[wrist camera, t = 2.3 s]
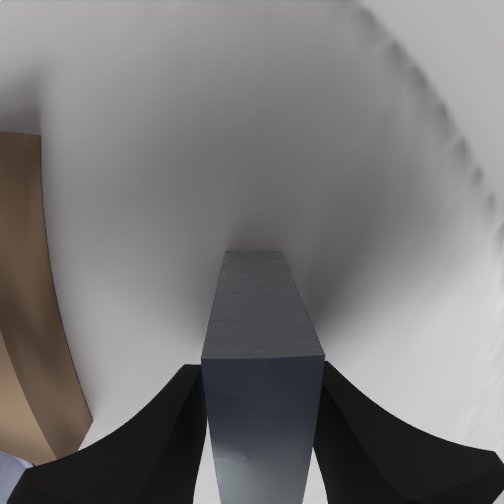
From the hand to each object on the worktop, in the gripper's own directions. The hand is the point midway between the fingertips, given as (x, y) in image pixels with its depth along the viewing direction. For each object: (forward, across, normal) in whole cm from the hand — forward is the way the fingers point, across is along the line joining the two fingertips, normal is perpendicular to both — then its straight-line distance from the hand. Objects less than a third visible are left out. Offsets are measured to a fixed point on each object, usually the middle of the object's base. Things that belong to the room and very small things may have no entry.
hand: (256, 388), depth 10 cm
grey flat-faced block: (+3, 0, 0) cm, 3 cm away
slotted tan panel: (+3, +16, -2) cm, 17 cm away
